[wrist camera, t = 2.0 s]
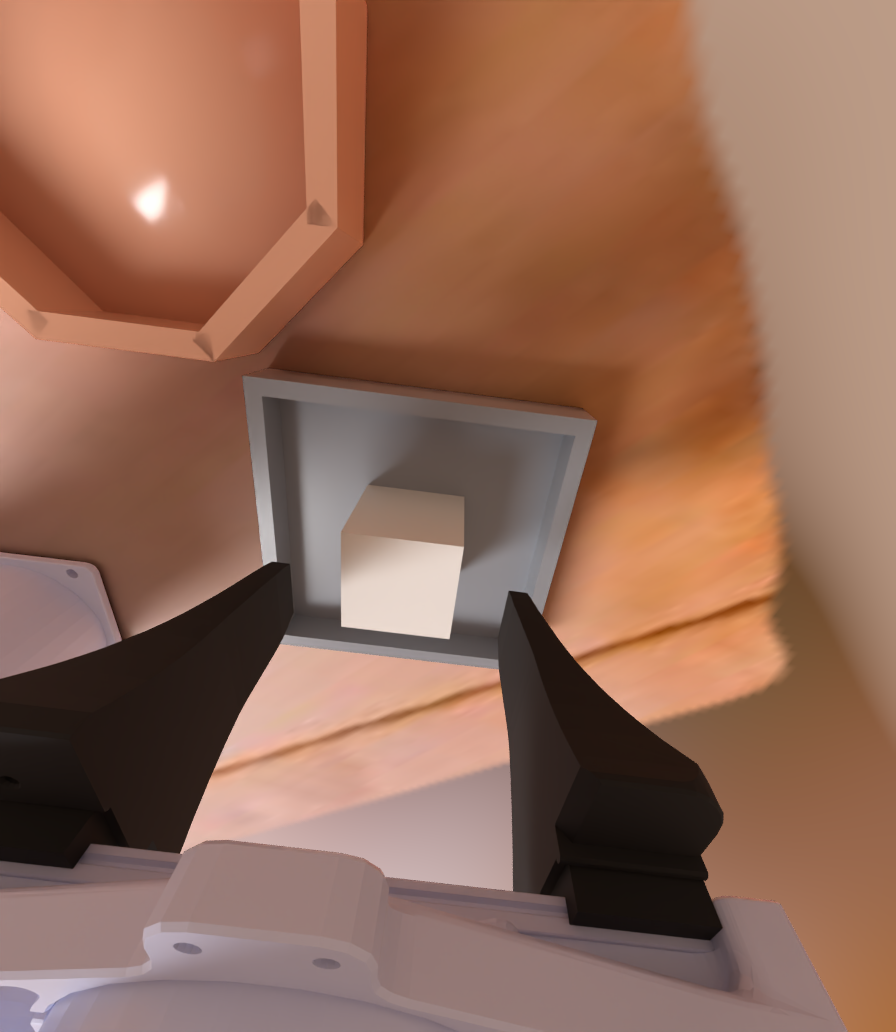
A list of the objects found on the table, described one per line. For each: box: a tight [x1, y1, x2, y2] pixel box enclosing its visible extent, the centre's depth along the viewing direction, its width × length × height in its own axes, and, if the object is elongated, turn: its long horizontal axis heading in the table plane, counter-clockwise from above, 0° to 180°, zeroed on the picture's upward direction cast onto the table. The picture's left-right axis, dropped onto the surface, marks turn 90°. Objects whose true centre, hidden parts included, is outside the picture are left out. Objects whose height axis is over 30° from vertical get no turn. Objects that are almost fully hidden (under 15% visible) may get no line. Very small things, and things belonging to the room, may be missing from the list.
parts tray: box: [242, 368, 597, 669], centre depth 17 cm, size 12×12×2 cm
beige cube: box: [341, 485, 464, 639], centre depth 16 cm, size 4×4×4 cm
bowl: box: [0, 0, 367, 362], centre depth 11 cm, size 13×13×3 cm
